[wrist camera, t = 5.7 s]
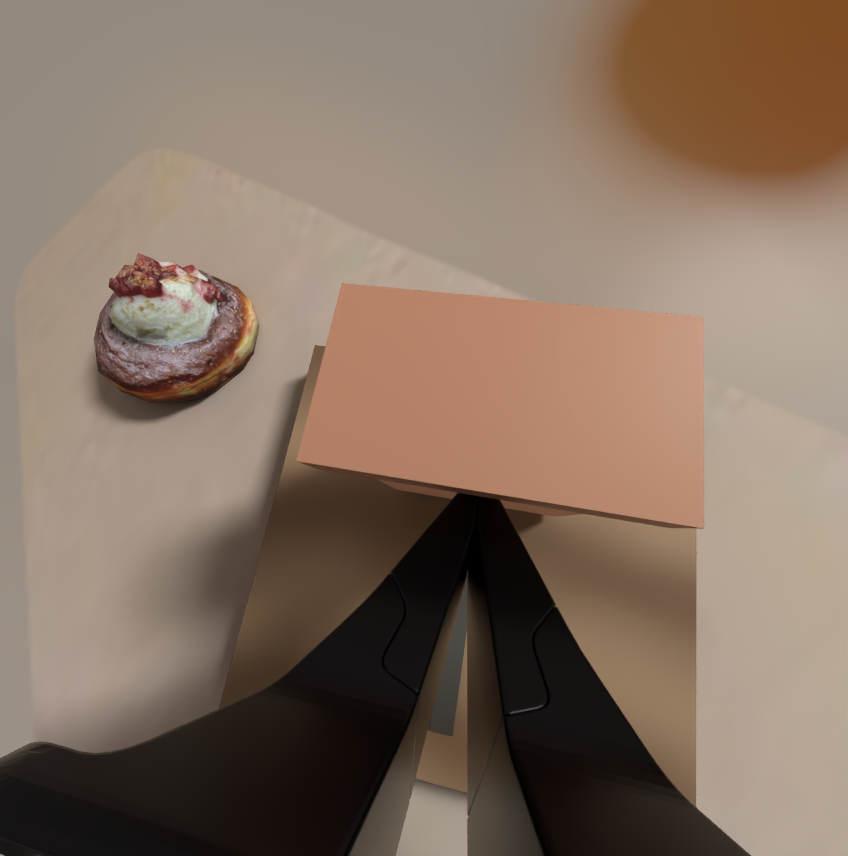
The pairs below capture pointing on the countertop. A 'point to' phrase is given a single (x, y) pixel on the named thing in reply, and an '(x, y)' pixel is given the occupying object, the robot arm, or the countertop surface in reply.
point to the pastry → (173, 332)
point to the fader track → (391, 539)
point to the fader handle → (514, 403)
